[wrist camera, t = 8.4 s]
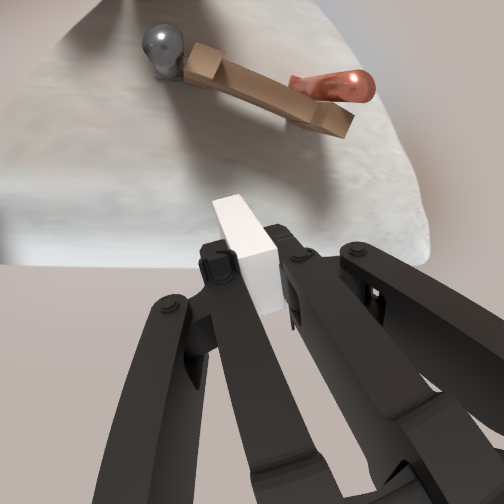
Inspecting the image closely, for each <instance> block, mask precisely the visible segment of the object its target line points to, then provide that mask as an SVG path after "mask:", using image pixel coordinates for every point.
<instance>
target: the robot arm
mask: <svg viewBox="0 0 504 504" xmlns="http://www.w3.org/2000/svg"><path fill="white" fill-rule="evenodd" d="M212 204H213V208H214V212H215V216H216V220H217V224H218V228H219V232H220V237H221V240H218V241H214V242H211V243H207V244H203V246H202V247H201V249H200V256H201V258H200V260H199V263H198V265H199V268H200V271H201V274H202V277H203V281H204V284H205V286H204V288H203V289H202V290H201V292H199V293H198V294H197V295H195V296H193V297H191V298H190V299H187V298H186V297H185V296H183V295H180V294H172V295H168V296H165V297H163V298H161V299H159V300H158V301H157V302H156V303H154V305H153V307H152V308H151V311H150V314H149V316H148V319H147V321H146V324H145V327H144V329H143V332H142V335H141V338H140V340H139V343H138V346H137V349H136V352H135V354H134V358H133V360H132V363H131V367H130V369H129V372H128V375H127V378H126V381H125V384H124V387H123V390H122V393H121V397H120V400H119V403H118V406H117V410H116V413H115V416H114V419H113V423H112V426H111V430H110V433H109V437H108V440H107V444H106V448H105V452H104V455H103V459H102V463H101V467H100V471H99V475H98V479H97V483H96V488H95V492H94V496H93V501H92V504H193V499H194V487H195V477H196V467H197V455H198V447H199V437H200V427H201V419H202V410H203V401H204V393H205V385H206V376H207V368H208V359H209V354H208V352H210V351H211V350H213V349H215V348H217V347H218V348H219V353H220V357H221V362H222V365H223V370H224V374H225V378H226V382H227V386H228V390H229V394H230V398H231V402H232V406H233V410H234V413H235V417H236V421H237V425H238V428H239V432H240V436H241V439H242V443H243V447H244V450H245V454H246V457H247V461H248V464H249V468H250V479H251V484H252V487H253V491H254V495H255V498H256V501H257V504H504V450H501V449H497V448H494V447H493V446H492V445H491V443H490V442H489V440H488V439H487V438H486V436H485V435H484V433H483V432H482V431H481V429H480V428H479V427H478V425H477V424H476V423H475V422H474V420H473V419H472V417H471V416H470V415H469V413H470V414H471V415H472V416H474V417H475V418H476V419H477V420H479V421H480V422H482V423H483V424H484V425H485V426H487V427H488V428H490V429H491V430H493V431H495V432H497V433H499V434H501V435H503V436H504V320H502V319H501V318H499V317H498V316H496V315H494V314H493V313H491V312H490V311H488V310H486V309H485V308H483V307H481V306H480V305H478V304H476V303H475V302H473V301H471V300H469V299H468V298H466V297H465V296H463V295H461V294H460V293H458V292H456V291H454V290H453V289H451V288H449V287H447V286H446V285H444V284H442V283H440V282H439V281H437V280H435V279H433V278H432V277H430V276H428V275H426V274H424V273H422V272H421V271H419V270H417V269H415V268H414V267H412V266H410V265H408V264H406V263H404V262H402V261H401V260H399V259H397V258H395V257H393V256H391V255H389V254H387V253H385V252H384V251H382V250H380V249H378V248H376V247H374V246H372V245H370V244H367V243H364V242H351V243H348V244H345V245H344V246H342V247H341V249H340V256H332V257H321V256H320V255H319V254H318V252H316V251H315V250H314V249H311V248H304V247H303V246H302V245H301V244H300V243H299V241H298V240H297V239H296V238H295V237H294V236H293V234H292V233H290V231H289V230H288V229H287V228H286V227H285V226H282V225H280V224H275V225H271V226H267V227H262V226H261V224H260V223H259V221H258V220H257V218H256V217H255V216H254V214H253V213H252V211H251V210H250V209H249V207H248V206H247V204H246V203H245V202H244V200H243V199H242V197H241V196H240V194H237V195H233V196H229V197H225V198H222V199H218V200H214V201H212ZM373 288H374V289H376V290H377V291H379V296H376V295H375V294H373ZM285 300H286V301H287V303H288V305H289V312H290V319H291V327H292V330H294V329H295V327H294V325H295V326H296V328H297V330H298V331H299V333H300V335H301V337H302V339H303V341H304V342H305V345H306V346H307V348H308V350H309V352H310V354H311V356H312V357H313V359H314V361H315V363H316V365H317V367H318V369H319V371H320V373H321V374H322V376H323V378H324V380H325V382H326V384H327V386H328V387H329V389H330V391H331V393H332V395H333V397H334V399H335V401H336V403H337V404H338V406H339V408H340V410H341V412H342V414H343V416H344V418H345V419H346V421H347V423H348V425H349V427H350V429H351V430H352V433H353V434H354V436H355V438H356V440H357V442H358V444H359V445H360V447H361V450H362V451H363V453H364V455H365V457H366V459H367V462H368V466H369V473H370V476H371V479H372V481H373V483H374V485H375V487H376V489H377V491H374V492H370V493H366V494H361V495H357V496H351V497H346V498H343V496H342V494H341V492H340V490H339V488H338V485H337V483H336V481H335V479H334V477H333V475H332V472H331V470H330V468H329V467H328V464H327V462H326V460H325V459H324V457H323V456H322V454H321V453H319V452H318V451H317V449H316V447H315V445H314V443H313V441H312V439H311V437H310V434H309V432H308V430H307V427H306V425H305V423H304V421H303V418H302V416H301V414H300V412H299V409H298V407H297V405H296V403H295V400H294V398H293V395H292V393H291V391H290V388H289V386H288V384H287V382H286V379H285V377H284V375H283V372H282V370H281V368H280V365H279V363H278V361H277V358H276V356H275V353H274V351H273V349H272V346H271V345H270V342H269V339H268V337H267V335H266V332H265V330H264V328H263V325H262V323H261V320H260V318H259V316H263V315H266V314H269V313H272V312H276V311H279V310H282V309H286V304H285ZM419 373H420V374H421V375H422V376H424V377H425V378H426V379H427V380H429V381H430V382H431V383H432V384H434V385H435V386H436V387H438V388H439V389H440V390H441V391H442V392H435V391H433V390H432V389H431V388H430V387H429V385H428V384H427V383H426V382H425V380H424V379H423V378H422V376H421V375H420V374H419ZM468 412H469V413H468Z"/></svg>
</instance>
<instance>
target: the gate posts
mask: <svg viewBox="0 0 504 504" xmlns="http://www.w3.org/2000/svg"><path fill="white" fill-rule="evenodd" d="M142 46H143V50H144V52H145V53H146V55H147V56H148V58H149V59H150V60H151V62H152V63H153V64H154V66H155V67H156V69H157V72H156V76H155V78H158V79H165V80H171V81H177V82H181V81H182V77H183V74H184V71H183V68H184V66H185V64H186V62H187V60H188V57H184V52H183V35H182V33H181V31H180V30H179V29H178V28H177V27H175V26H173V25H170V24H160V25H157V26H155V27H153V28H151V29H150V30H149V31H148V32H147V33H146V34H145V36H144V38H143V42H142ZM288 87H289V88H291V89H293V90H295V91H297V92H299V93H301V94H303V95H305V96H307V97H309V98H311V99H312V100H314V101H325V102H354V103H366V102H369V101H370V100H371V99H372V98H373V97H374V95H375V91H376V87H375V82H374V80H373V78H372V76H371V75H370V74H369V73H367V72H366V71H364V70H352V71H345V72H338V73H331V74H325V75H319V76H313V77H308V78H303V79H302V78H299V77H296V76H293V75H291V78H290V81H289V85H288Z"/></svg>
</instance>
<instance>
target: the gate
mask: <svg viewBox="0 0 504 504" xmlns="http://www.w3.org/2000/svg"><path fill="white" fill-rule="evenodd" d="M224 54H225V52H224V51H221V50H218V49H216V48H213V47H210V46H207V45H204V44H201V43H198V42H196V43H195V45H194V47H193V49H192V51H191V53H190V55H189V57H188V60H187V62H186V64H185V66H184V68H183V71H184V82H187V83H190V84H192V85H195V86H198V87H201V88H205V87H206V86H208V87H210V88H213V89H216V90H219V91H221V92H224V93H226V94H229V95H232V96H234V97H237V98H239V99H242V100H244V101H247V102H249V103H251V104H254V105H256V106H258V107H261V108H263V109H265V110H268V111H270V112H272V113H274V114H277V115H279V116H281V117H283V118H285V119H286V121H288V122H290V123H292V124H294V125H297V126H299V127H301V128H303V129H306V130H310V131H314V132H319V133H323V134H327V135H331V136H335V137H339V138H342V139H344V138H345V136H346V134H347V131H348V129H349V127H350V125H351V123H352V120H353V118H354V116H355V115H353V114H352V113H350V112H348V111H347V110H345V109H343V108H342V107H340V106H338V105H337V104H335V103H333V102H316V101H314V100H312V99H311V98H309V97H307V96H305V95H303V94H301V93H299V92H297V91H295V90H293V89H291V88H289V87H287V86H285V85H283V84H280V83H278V82H276V81H274V80H272V79H270V78H267V77H265V76H263V75H261V74H258V73H256V72H254V71H251V70H249V69H247V68H244V67H242V66H239V65H237V64H234V63H232V62H229V61H227V60H224V59H222V58H223V56H224Z"/></svg>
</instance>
